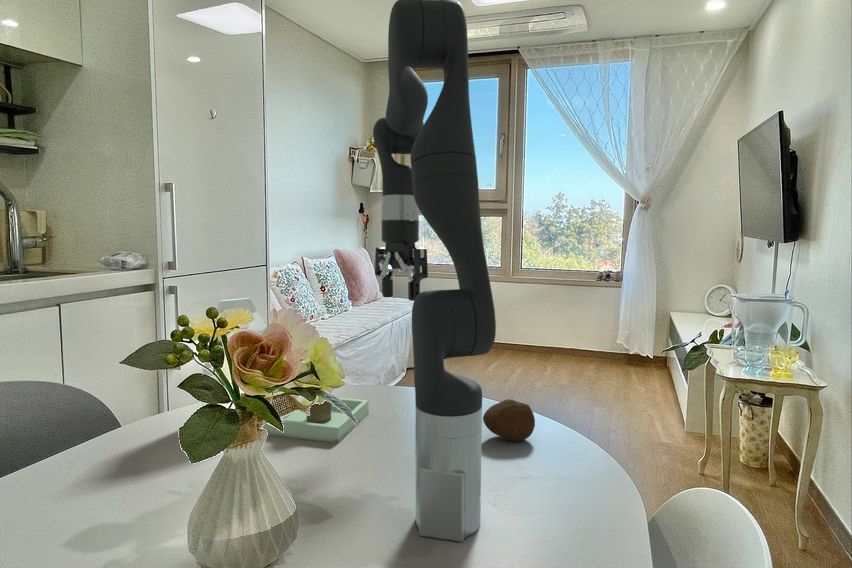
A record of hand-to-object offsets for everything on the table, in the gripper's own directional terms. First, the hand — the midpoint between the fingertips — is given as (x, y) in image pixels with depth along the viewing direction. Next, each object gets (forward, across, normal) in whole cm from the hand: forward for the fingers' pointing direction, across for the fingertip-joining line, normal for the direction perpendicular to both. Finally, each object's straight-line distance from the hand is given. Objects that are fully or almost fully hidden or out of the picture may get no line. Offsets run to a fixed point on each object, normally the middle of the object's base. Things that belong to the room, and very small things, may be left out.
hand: (400, 298), depth 113 cm
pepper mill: (+25, -12, -12) cm, 31 cm away
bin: (+26, -12, -12) cm, 31 cm away
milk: (+26, -24, -24) cm, 43 cm away
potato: (+27, +20, +11) cm, 35 cm away
